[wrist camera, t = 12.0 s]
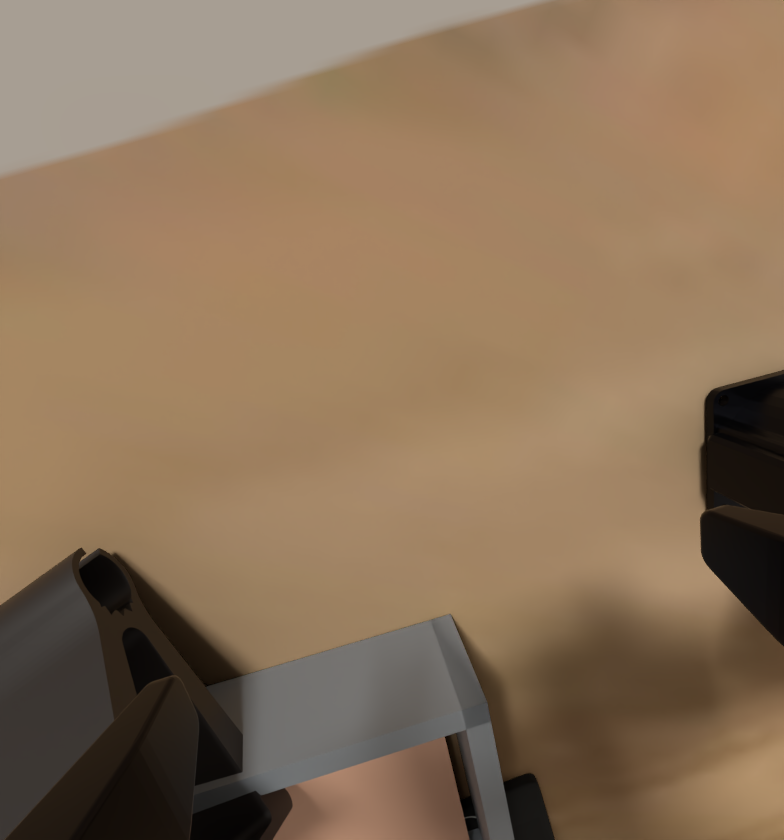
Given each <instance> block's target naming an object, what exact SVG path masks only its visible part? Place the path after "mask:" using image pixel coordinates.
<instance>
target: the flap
mask: <svg viewBox="0 0 784 840" xmlns="http://www.w3.org/2000/svg"><path fill="white" fill-rule="evenodd" d="M285 789H286V790H287V791H288V793H289V794H290V797H291V799H292V804H293V807H292V809H291V811H290V813H289V814H288V816H287V817H286V819H285V821H284V822H283V824H282V825H281V827H280V829H279V830H278V832H277V833H276V835H275V837H274V838H273V840H469V836H468V831H467V827H466V823H465V819H464V815H463V811H462V806H461V802H460V798H459V794H458V790H457V786H456V781H455V777H454V773H453V769H452V765H451V761H450V756H449V752H448V748H447V744H446V740H445V737H442V738H439V739H436V740H433V741H429V742H426V743H423V744H420V745H417V746H414V747H411V748H408V749H405V750H401V751H398V752H395V753H392V754H389V755H386V756H383V757H380V758H376V759H373V760H370V761H367V762H364V763H361V764H358V765H355V766H352V767H348V768H345V769H342V770H339V771H336V772H333V773H330V774H327V775H324V776H320V777H317V778H314V779H311V780H308V781H305V782H302V783H299V784H296V785H292V786H289V787H286V788H285Z"/></svg>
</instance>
